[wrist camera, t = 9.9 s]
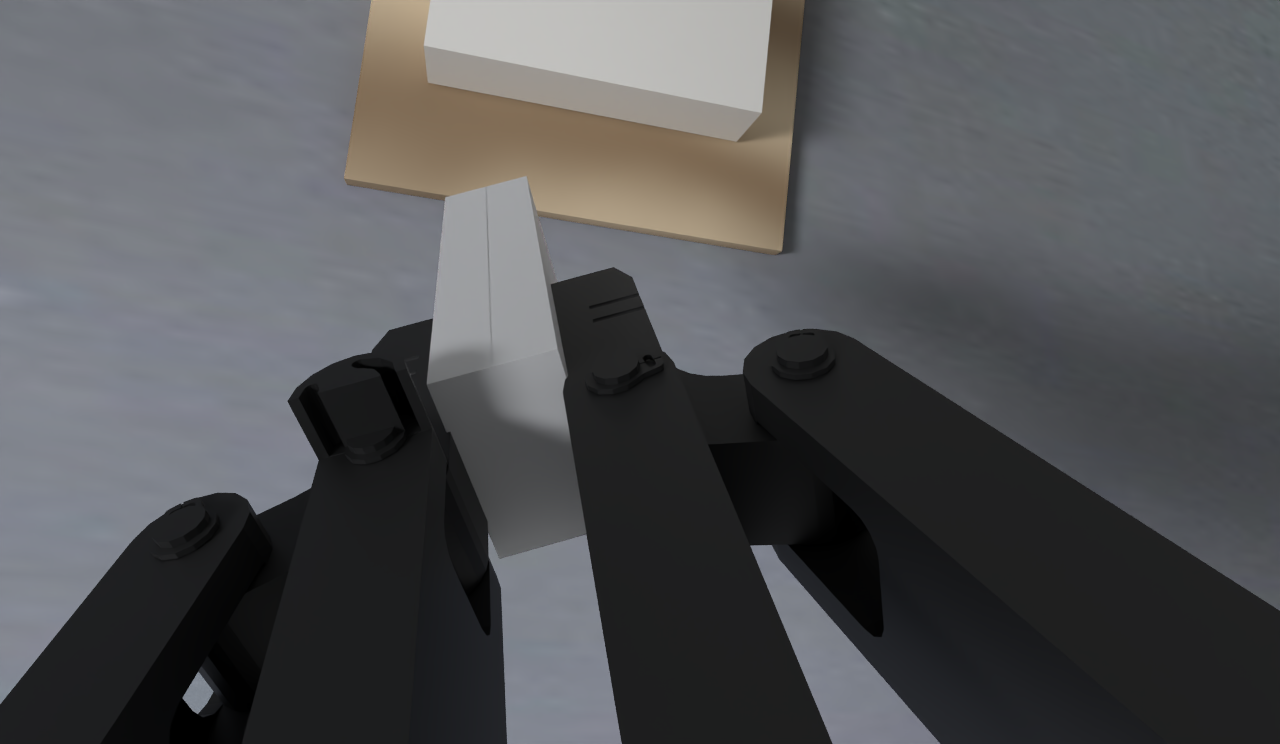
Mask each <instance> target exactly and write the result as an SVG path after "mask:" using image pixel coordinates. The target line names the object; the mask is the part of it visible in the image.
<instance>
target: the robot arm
mask: <svg viewBox="0 0 1280 744" xmlns="http://www.w3.org/2000/svg"><path fill="white" fill-rule="evenodd" d="M288 403H289V405H290V407H291V409H292V411H293V413H294V414H295V416H296V418H297V420H298V422H299V424H300V426H301V428H302V429H303V431H304V433H305V435H306V437H307V439H308V441H309V443H310V444H311V446H312V448H313V450H314V452H315V454H316V456H317V457H318V459H319V462H318V465H317V469H316V473H315V476H314V480H313V484H312V487H311V488H310V489H309V490H307V491H305V492H303V493H301V494H299V495H298V496H296V497H294V498H292V499H290V500H288V501H285V502H283V503H281V504H279V505H277V506H275V507H273V508H271V509H269V510H267V511H264V512H262V513H260V514H258V515H256V513H255V512H254V510H253V508H252V507H251V505H250V504H249V502H248V500H247V499H245V498H243V497H242V496H240V495H238V494H236V493H215V494H211V495H207V496H203V497H199V498H194V499H191V500H188V501H186V502H184V504H182V505H181V504H179V505H177V506H175V507H173V508H171V509H169V510H168V511H167V512H166V513H165V514H164V515H162V516H161V517H159V518H158V519H156V520H155V521H153V522H152V523H150V524H149V525H148V526H147V527H146V528H145V529H144V530H143V531H142V532H141V533H140V534H139V535H138V536H137V537H136V538H135V539H134V540H133V541H132V542H131V543H130V544H129V546H128V547H127V548H126V549H125V551H124V552H123V553H122V554H121V555H120V557H119V558H118V559H117V560H116V562H115V563H114V564H113V565H112V567H111V568H110V569H109V570H108V572H107V573H106V574H105V575H104V577H103V578H102V579H101V580H100V581H99V583H98V584H97V585H96V586H95V588H94V589H93V590H92V591H91V593H90V594H89V595H88V596H87V598H86V599H85V600H84V601H83V603H82V604H81V605H80V606H79V608H78V609H77V610H76V611H75V612H74V614H73V615H72V616H71V617H70V619H69V620H68V621H67V622H66V624H65V625H64V626H63V627H62V629H61V630H60V631H59V632H58V634H57V635H56V636H55V637H54V639H53V640H52V641H51V642H50V643H49V645H48V646H47V647H46V648H45V650H44V651H43V652H42V653H41V655H40V656H39V657H38V658H37V660H36V661H35V662H34V663H33V665H32V666H31V667H30V668H29V669H28V671H27V672H26V673H25V674H24V676H23V677H22V678H21V679H20V681H19V682H18V683H17V684H16V686H15V687H14V688H13V689H12V691H11V692H10V693H9V694H8V696H7V697H6V698H5V699H4V700H3V702H2V703H1V704H0V744H507V732H506V707H505V682H504V657H503V632H502V607H501V587H500V584H499V581H498V578H497V575H496V573H495V571H494V568H493V566H492V564H491V561H490V559H489V557H488V533H489V535H490V537H491V540H492V542H493V545H494V547H495V549H496V552H497V554H498V556H499V559H500V558H504V557H508V556H511V555H515V554H518V553H522V552H525V551H529V550H532V549H536V548H540V547H543V546H547V545H550V544H554V543H557V542H561V541H564V540H568V539H571V538H575V537H579V536H582V535H586V534H587V540H588V546H589V552H590V558H591V563H592V569H593V575H594V581H595V587H596V593H597V599H598V605H599V611H600V617H601V623H602V629H603V635H604V641H605V647H606V652H607V658H608V664H609V670H610V676H611V682H612V688H613V694H614V700H615V706H616V712H617V718H618V724H619V730H620V735H621V741H622V744H832V742H831V739H830V737H829V734H828V732H827V730H826V727H825V725H824V722H823V720H822V717H821V715H820V713H819V710H818V708H817V705H816V703H815V701H814V698H813V696H812V693H811V691H810V689H809V686H808V684H807V681H806V679H805V677H804V674H803V672H802V669H801V667H800V665H799V662H798V660H797V657H796V655H795V653H794V650H793V648H792V645H791V643H790V641H789V638H788V636H787V633H786V631H785V629H784V626H783V624H782V621H781V619H780V617H779V614H778V612H777V609H776V607H775V605H774V602H773V600H772V597H771V595H770V593H769V590H768V588H767V585H766V583H765V581H764V578H763V576H762V573H761V571H760V568H759V566H758V564H757V561H756V559H755V556H754V554H753V552H752V549H751V547H750V545H772V546H773V548H774V550H775V552H776V554H777V556H778V558H779V559H780V561H781V562H782V563H783V564H784V565H785V566H786V567H787V569H788V570H789V571H790V572H791V573H792V574H793V575H794V577H795V578H796V579H797V580H798V581H799V582H800V583H801V585H802V586H803V587H804V588H805V589H806V590H807V591H808V593H809V594H810V595H811V596H812V597H813V598H814V599H815V601H816V602H817V603H818V604H819V605H820V606H821V607H822V609H823V610H824V611H825V612H826V613H827V614H828V616H829V617H830V618H831V619H832V620H833V621H834V622H835V624H836V625H837V626H838V627H839V628H840V629H841V630H842V632H843V633H844V634H845V635H846V636H847V637H848V638H849V640H850V641H851V642H852V643H853V644H854V645H855V646H856V648H857V649H858V650H859V651H860V652H861V653H862V654H863V656H864V657H865V658H866V659H867V660H868V661H869V662H870V664H871V665H872V666H873V667H874V668H875V669H876V670H877V672H878V673H879V674H880V675H881V676H882V677H883V678H884V680H885V681H886V682H887V683H888V684H889V685H890V686H891V688H892V689H893V690H894V691H895V692H896V693H897V694H898V696H899V697H900V698H901V699H902V700H903V701H904V702H905V704H906V705H907V706H908V707H909V708H910V709H911V710H912V712H913V713H914V714H915V715H916V716H917V717H918V718H919V720H920V721H921V722H922V723H923V724H924V725H925V726H926V728H927V729H928V730H929V731H930V732H931V733H932V735H933V736H934V737H935V738H936V739H937V740H938V741H939V743H940V744H1280V611H1279V610H1278V609H1276V608H1274V607H1273V606H1271V605H1270V604H1268V603H1267V602H1265V601H1263V600H1262V599H1260V598H1259V597H1257V596H1256V595H1254V594H1253V593H1251V592H1249V591H1248V590H1246V589H1245V588H1243V587H1242V586H1240V585H1238V584H1237V583H1235V582H1234V581H1232V580H1231V579H1229V578H1228V577H1226V576H1224V575H1223V574H1221V573H1220V572H1218V571H1217V570H1215V569H1213V568H1212V567H1210V566H1209V565H1207V564H1206V563H1204V562H1202V561H1201V560H1199V559H1198V558H1196V557H1195V556H1193V555H1192V554H1190V553H1188V552H1187V551H1185V550H1184V549H1182V548H1181V547H1179V546H1177V545H1176V544H1174V543H1173V542H1171V541H1170V540H1168V539H1167V538H1165V537H1163V536H1162V535H1160V534H1159V533H1157V532H1156V531H1154V530H1152V529H1151V528H1149V527H1148V526H1146V525H1145V524H1143V523H1142V522H1140V521H1138V520H1137V519H1135V518H1134V517H1132V516H1131V515H1129V514H1127V513H1126V512H1124V511H1123V510H1121V509H1120V508H1118V507H1117V506H1115V505H1113V504H1112V503H1110V502H1109V501H1107V500H1106V499H1104V498H1102V497H1101V496H1099V495H1098V494H1096V493H1095V492H1093V491H1091V490H1090V489H1088V488H1087V487H1085V486H1084V485H1082V484H1081V483H1079V482H1077V481H1076V480H1074V479H1073V478H1071V477H1070V476H1068V475H1066V474H1065V473H1063V472H1062V471H1060V470H1059V469H1057V468H1056V467H1054V466H1052V465H1051V464H1049V463H1048V462H1046V461H1045V460H1043V459H1041V458H1040V457H1038V456H1037V455H1035V454H1034V453H1032V452H1031V451H1029V450H1027V449H1026V448H1024V447H1023V446H1021V445H1020V444H1018V443H1016V442H1015V441H1013V440H1012V439H1010V438H1009V437H1007V436H1005V435H1004V434H1002V433H1001V432H999V431H998V430H996V429H995V428H993V427H991V426H990V425H988V424H987V423H985V422H984V421H982V420H980V419H979V418H977V417H976V416H974V415H973V414H971V413H970V412H968V411H966V410H965V409H963V408H962V407H960V406H959V405H957V404H955V403H954V402H952V401H951V400H949V399H948V398H946V397H945V396H943V395H941V394H940V393H938V392H937V391H935V390H934V389H932V388H930V387H929V386H927V385H926V384H924V383H923V382H921V381H920V380H918V379H916V378H915V377H913V376H912V375H910V374H909V373H907V372H905V371H904V370H902V369H901V368H899V367H898V366H896V365H894V364H893V363H891V362H890V361H888V360H887V359H885V358H884V357H882V356H880V355H879V354H877V353H876V352H874V351H873V350H871V349H869V348H868V347H866V346H865V345H863V344H862V343H860V342H859V341H857V340H855V339H854V338H851V337H849V336H846V335H844V334H841V333H839V332H836V331H828V330H819V329H803V330H794V331H789V332H787V333H784V334H781V335H777V336H774V337H771V338H769V339H768V340H766V341H764V342H762V343H761V344H759V345H757V346H756V347H754V348H753V350H752V351H751V352H750V353H749V354H748V356H747V357H746V358H745V359H744V367H743V374H740V375H727V376H703V375H696V374H690V373H687V372H685V371H682V370H679V369H677V368H676V367H675V364H674V362H673V361H672V360H671V359H670V357H669V356H668V355H667V354H666V353H665V352H662V350H661V347H660V345H659V342H658V340H657V337H656V335H655V332H654V330H653V327H652V325H651V323H650V320H649V318H648V315H647V313H646V310H645V309H644V305H643V303H642V300H641V298H640V296H639V293H638V291H637V288H636V286H635V283H634V281H633V278H632V277H631V276H629V275H627V274H625V273H623V272H621V271H619V270H618V269H616V268H614V267H613V268H609V269H605V270H602V271H598V272H594V273H590V274H587V275H583V276H579V277H576V278H572V279H568V280H564V281H561V282H557V279H556V275H555V272H554V268H553V265H552V261H551V258H550V255H549V251H548V248H547V244H546V241H545V238H544V234H543V231H542V227H541V224H540V220H539V217H538V214H537V210H536V207H535V203H534V200H533V196H532V193H531V190H530V186H529V183H528V179H527V176H524V177H521V178H517V179H513V180H509V181H505V182H502V183H498V184H494V185H490V186H486V187H483V188H479V189H475V190H471V191H467V192H464V193H460V194H456V195H452V196H448V197H445V206H444V216H443V226H442V236H441V246H440V256H439V266H438V276H437V286H436V296H435V305H434V315H433V319H429V320H425V321H422V322H418V323H414V324H410V325H407V326H403V327H399V328H396V329H392V330H389V331H388V332H387V334H386V335H385V336H384V337H383V338H382V339H381V341H380V342H379V343H378V344H377V345H376V346H375V348H374V349H373V350H372V353H367V354H362V355H356V356H353V357H350V358H347V359H344V360H342V361H339V362H336V363H333V364H331V365H329V366H328V367H326V368H324V369H322V370H320V371H318V372H317V373H315V374H313V375H312V376H310V377H309V378H308V379H307V380H305V381H304V382H303V383H302V384H301V385H299V386H298V387H297V388H296V389H295V391H294V392H293V394H292V395H291V397H290V398H289V400H288ZM198 672H199V673H200V674H201V675H202V677H203V678H204V679H205V681H206V682H207V683H208V685H209V686H210V687H211V688H212V690H213V691H214V692H213V694H212V696H211V698H210V699H209V701H208V703H207V704H206V706H205V707H204V708H203V709H202V710H201V711H200V712H199V714H197V713H195V712H193V711H192V710H191V708H190V707H189V706H188V705H187V703H186V702H185V701H184V700H183V698H182V697H183V696H184V694H185V692H186V691H187V689H188V688H189V686H190V684H191V683H192V681H193V679H194V678H195V676H196V674H197V673H198Z"/></svg>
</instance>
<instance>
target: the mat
mask: <svg viewBox="0 0 1280 744" xmlns="http://www.w3.org/2000/svg"><path fill="white" fill-rule="evenodd" d="M804 3H805V0H772V11H771V21H770V32H769V42H768V53H767V63H766V74H765V84H764V95H763V105H762V113H761V114H760V116H759V117H758V118H757V119H756V120H755V121H754V122H753V123H752V125H751V126H750V127H749V128H748V129H747V130H746V131H745V133H744V134H743V135H742V136H741V137H740V138H739V139H738V141H737V142H735V141H730V140H725V139H720V138H714V137H709V136H704V135H699V134H693V133H688V132H683V131H678V130H673V129H667V128H662V127H657V126H652V125H646V124H641V123H636V122H631V121H625V120H620V119H615V118H610V117H605V116H599V115H594V114H589V113H584V112H578V111H573V110H568V109H563V108H558V107H552V106H547V105H542V104H537V103H531V102H526V101H521V100H516V99H511V98H505V97H500V96H495V95H490V94H484V93H479V92H474V91H469V90H463V89H458V88H453V87H448V86H443V85H437V84H432V83H428V79H427V70H426V61H425V52H424V40H425V33H426V26H427V20H428V13H429V6H430V0H372V1H371V7H370V14H369V20H368V27H367V33H366V40H365V46H364V53H363V59H362V65H361V72H360V78H359V85H358V91H357V98H356V104H355V111H354V117H353V124H352V130H351V137H350V143H349V150H348V156H347V163H346V169H345V176H344V179H345V181H346V183H347V185H353V186H359V187H365V188H371V189H377V190H383V191H389V192H395V193H401V194H407V195H413V196H419V197H425V198H432V199H438V200H444V201H445V197H448V196H452V195H456V194H460V193H464V192H467V191H471V190H475V189H479V188H483V187H486V186H490V185H494V184H498V183H502V182H505V181H509V180H513V179H517V178H521V177H524V176H527V179H528V183H529V186H530V190H531V193H532V196H533V200H534V203H535V207H536V210H537V214H538V216H541V217H547V218H553V219H559V220H565V221H571V222H577V223H583V224H589V225H595V226H601V227H607V228H613V229H620V230H626V231H632V232H638V233H644V234H650V235H656V236H662V237H668V238H674V239H680V240H686V241H692V242H698V243H704V244H710V245H717V246H723V247H729V248H735V249H741V250H747V251H753V252H759V253H765V254H771V255H777V254H778V253H780V252H781V251H782V246H783V235H784V224H785V213H786V202H787V191H788V180H789V169H790V158H791V147H792V136H793V125H794V114H795V103H796V91H797V80H798V69H799V58H800V47H801V36H802V25H803V14H804Z"/></svg>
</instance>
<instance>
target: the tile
mask: <svg viewBox="0 0 1280 744" xmlns="http://www.w3.org/2000/svg"><path fill="white" fill-rule="evenodd" d="M771 11H772V0H430V6H429V13H428V20H427V26H426V33H425V40H424V52H425V61H426V70H427V79H428V83H432V84H437V85H443V86H448V87H453V88H458V89H463V90H469V91H474V92H479V93H484V94H490V95H495V96H500V97H505V98H511V99H516V100H521V101H526V102H531V103H537V104H542V105H547V106H552V107H558V108H563V109H568V110H573V111H578V112H584V113H589V114H594V115H599V116H605V117H610V118H615V119H620V120H625V121H631V122H636V123H641V124H646V125H652V126H657V127H662V128H667V129H673V130H678V131H683V132H688V133H693V134H699V135H704V136H709V137H714V138H720V139H725V140H730V141H735V142H737V141H738V139H739V138H740V137H741V136H742V135H743V134H744V133H745V131H746V130H747V129H748V128H749V127H750V126H751V125H752V123H753V122H754V121H755V120H756V119H757V118H758V117H759V116H760V114H761V113H762V105H763V95H764V84H765V74H766V63H767V53H768V42H769V32H770V21H771Z"/></svg>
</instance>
